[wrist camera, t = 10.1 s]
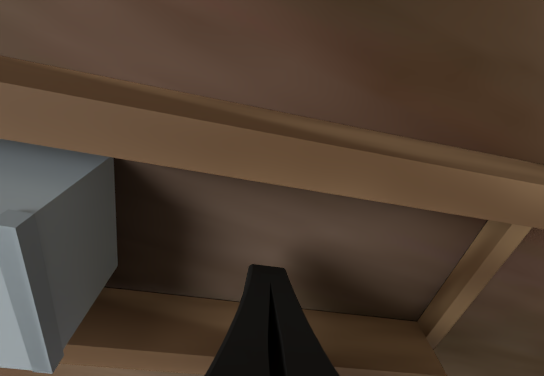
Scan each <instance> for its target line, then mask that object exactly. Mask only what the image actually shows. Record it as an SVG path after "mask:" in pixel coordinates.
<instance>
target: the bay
mask: <svg viewBox="0 0 544 376" xmlns="http://www.w3.org/2000/svg"><path fill="white" fill-rule="evenodd" d="M0 139H5V140H11V141H17V142H23V143H29V144H35V145H41V146H47V147H53V148H59V149H65V150H71V151H77V152H83V153H89V154H95V155H101V156H107V157H113V158H119V159H125V160H131V161H137V162H143V163H149V164H155V165H161V166H167V167H173V168H179V169H185V170H191V171H197V172H203V173H209V174H215V175H221V176H227V177H233V178H239V179H245V180H251V181H257V182H263V183H269V184H275V185H281V186H287V187H293V188H299V189H305V190H311V191H317V192H323V193H329V194H335V195H341V196H347V197H353V198H359V199H365V200H371V201H377V202H383V203H389V204H395V205H401V206H407V207H413V208H419V209H425V210H431V211H437V212H443V213H449V214H455V215H461V216H467V217H473V218H479V219H485V220H488V221H487V223H486V224H485V225H484V227H483V228H482V230H481V231H480V233H479V234H478V235H477V237H476V238H475V240H474V241H473V243H472V244H471V245H470V247H469V248H468V250H467V251H466V253H465V254H464V255H463V257H462V258H461V260H460V261H459V263H458V264H457V265H456V267H455V268H454V270H453V271H452V273H451V274H450V275H449V277H448V278H447V280H446V281H445V283H444V284H443V285H442V287H441V288H440V290H439V291H438V293H437V294H436V295H435V297H434V298H433V300H432V301H431V303H430V304H429V305H428V307H427V308H426V310H425V311H424V313H423V314H422V315H421V317H420V318H419V320H418V321H417V322H416V321H406V320H397V319H388V318H379V317H370V316H361V315H352V314H343V313H334V312H324V311H315V310H306V309H302V310H303V312H304V314H305V316H306V318H307V320H308V322H309V324H310V326H311V328H312V330H313V332H314V334H315V336H316V337H317V339H318V341H319V343H320V344H321V346H322V348H323V350H324V351H325V353H326V355H327V356H328V358H329V360H330V361H331V363H332V365H333V366H334V368H335V369H336V371H337V372H338V374H339V375H340V376H447V374H446V373H445V371H444V369H443V367H442V365H441V364H440V362H439V360H438V358H437V356H436V355H435V353H434V351H433V350H434V349H435V348H436V346H437V345H438V344H439V343H440V341H441V340H442V339H443V338H444V336H445V335H446V334H447V333H448V331H449V330H450V329H451V328H452V326H453V325H454V324H455V323H456V321H457V320H458V319H459V318H460V316H461V315H462V314H463V313H464V312H465V310H466V309H467V308H468V307H469V305H470V304H471V303H472V302H473V300H474V299H475V298H476V297H477V295H478V294H479V293H480V292H481V290H482V289H483V288H484V287H485V285H486V284H487V283H488V282H489V280H490V279H491V278H492V277H493V276H494V274H495V273H496V272H497V271H498V269H499V268H500V267H501V266H502V264H503V263H504V262H505V261H506V259H507V258H508V257H509V256H510V254H511V253H512V252H513V251H514V249H515V248H516V247H517V246H518V244H519V243H520V242H521V241H522V240H523V238H524V237H525V236H526V235H527V233H528V232H529V231H530V230H531V228H532V227H533V228H539V229H544V165H542V164H537V163H532V162H527V161H522V160H517V159H512V158H508V157H503V156H498V155H493V154H488V153H483V152H478V151H473V150H468V149H463V148H458V147H453V146H448V145H443V144H438V143H433V142H428V141H423V140H418V139H413V138H408V137H403V136H398V135H393V134H388V133H383V132H378V131H373V130H368V129H363V128H358V127H353V126H348V125H343V124H338V123H333V122H328V121H323V120H318V119H313V118H308V117H303V116H298V115H293V114H288V113H283V112H278V111H273V110H268V109H264V108H259V107H254V106H249V105H244V104H239V103H234V102H229V101H224V100H219V99H214V98H209V97H204V96H199V95H194V94H189V93H184V92H179V91H174V90H169V89H164V88H159V87H154V86H149V85H144V84H139V83H134V82H129V81H124V80H119V79H114V78H109V77H104V76H99V75H94V74H89V73H84V72H79V71H74V70H69V69H64V68H59V67H54V66H49V65H44V64H39V63H34V62H29V61H24V60H20V59H15V58H10V57H5V56H0ZM239 304H240V302H233V301H224V300H215V299H206V298H197V297H188V296H179V295H170V294H161V293H151V292H142V291H133V290H124V289H115V288H106V287H104V288H103V289H102V291H101V292H100V294H99V295H98V297H97V298H96V300H95V302H94V303H93V305H92V306H91V308H90V309H89V311H88V312H87V314H86V315H85V317H84V318H83V320H82V322H81V323H80V325H79V326H78V328H77V329H76V331H75V332H74V334H73V335H72V337H71V338H70V340H69V341H68V343H67V345H66V346H65V348H64V349H63V353H64V356H63V358H62V359H61V361H60V363H59V364H70V365H83V366H96V367H110V368H123V369H136V370H149V371H163V372H176V373H189V374H203V375H205V374H206V372H207V370H208V369H209V367H210V365H211V363H212V361H213V360H214V358H215V356H216V354H217V352H218V350H219V348H220V346H221V344H222V342H223V340H224V338H225V336H226V334H227V332H228V330H229V327H230V325H231V323H232V321H233V319H234V316H235V314H236V312H237V309H238V306H239Z"/></svg>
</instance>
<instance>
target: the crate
mask: <svg viewBox="0 0 544 376" xmlns="http://www.w3.org/2000/svg"><path fill="white" fill-rule="evenodd" d="M117 266H118V256H117V231H116V206H115V181H114V158H113V157H107V156H101V155H95V154H89V153H83V152H77V151H71V150H65V149H59V148H53V147H47V146H41V145H35V144H29V143H23V142H17V141H11V140H5V139H0V367H1V368H13V369H24V370H33V372H40V373H51V374H53V372H54V370H55V369H56V367H57V366H58V364H59V363H60V361H61V359H62V358H63V356H64V353H63V349H64V348H65V346H66V345H67V343H68V341H69V340H70V338H71V337H72V335H73V334H74V332H75V331H76V329H77V328H78V326H79V325H80V323H81V322H82V320H83V318H84V317H85V315H86V314H87V312H88V311H89V309H90V308H91V306H92V305H93V303H94V302H95V300H96V298H97V297H98V295H99V294H100V292H101V291H102V289H103V288H104V286H105V285H106V283H107V282H108V280H109V278H110V277H111V275H112V274H113V272H114V271H115V269H116V268H117Z"/></svg>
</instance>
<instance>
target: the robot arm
mask: <svg viewBox="0 0 544 376" xmlns="http://www.w3.org/2000/svg"><path fill="white" fill-rule="evenodd" d="M205 376H340V375H339V374H338V372H337V371H336V369H335V368H334V366H333V365H332V363H331V361H330V360H329V358H328V356H327V355H326V353H325V351H324V350H323V348H322V346H321V344H320V343H319V341H318V339H317V337H316V336H315V334H314V332H313V330H312V328H311V326H310V324H309V322H308V320H307V318H306V316H305V314H304V312H303V310H302V308H301V306H300V304H299V302H298V299H297V297H296V295H295V293H294V290H293V288H292V286H291V283H290V281H289V278H288V275H287V272H286V270H285V269H284V268H279V267H271V266H263V265H255V264H252V265H250V266H249V268H248V273H247V278H246V282H245V287H244V292H243V296H242V298H241V301H240V304H239V306H238V309H237V312H236V314H235V316H234V319H233V321H232V323H231V325H230V327H229V330H228V332H227V334H226V336H225V338H224V340H223V342H222V344H221V346H220V348H219V350H218V352H217V354H216V356H215V358H214V360H213V361H212V363H211V365H210V367H209V369H208V370H207V372H206V374H205Z"/></svg>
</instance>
